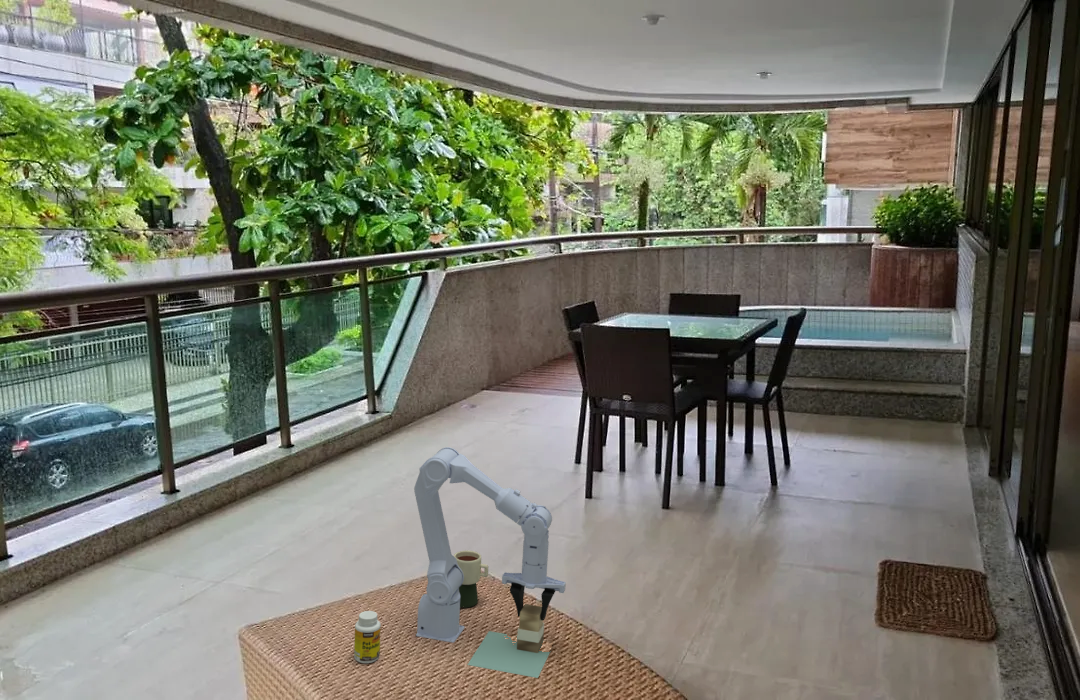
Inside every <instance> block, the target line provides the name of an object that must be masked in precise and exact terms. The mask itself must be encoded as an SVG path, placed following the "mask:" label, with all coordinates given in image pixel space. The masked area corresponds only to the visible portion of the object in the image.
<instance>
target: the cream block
mask: <svg viewBox="0 0 1080 700" xmlns="http://www.w3.org/2000/svg"><path fill="white" fill-rule="evenodd" d="M543 633H545V622H543V624H542V626H541V628H540V630H539V632H534V631H529V630H523V629H519V627H518V628H517V635H516V636H517V639H519V640H524V641H530V642H536V643H539V641H540V639H541V637H542V635H543Z"/></svg>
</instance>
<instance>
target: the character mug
mask: <svg viewBox="0 0 1080 700" xmlns="http://www.w3.org/2000/svg"><path fill="white" fill-rule="evenodd" d="M453 556H454V557H455V558H456V559H457V563H458V566H459V567H460V568H461V570H462V571H463V574H464V581H463V583H462V585H461V586H460V587H459V593H460V608H471V607H473V606H476V605H477V603H479V599H478V597H479V596H478V595H479V594H478V587H477V586H478V585H477V583H478V582H479V581H480V580H481V578H485V577H487V578H488V575H489V565H488V564H486V563H485V564H483V563H482V554H481V553H480V552H477V551H476V550H475V551H474V550H461V551H457V552H456V553H454V554H453ZM482 569H483V570H484V572H482Z"/></svg>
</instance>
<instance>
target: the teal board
mask: <svg viewBox="0 0 1080 700" xmlns="http://www.w3.org/2000/svg"><path fill="white" fill-rule="evenodd" d="M504 636H506V637H504ZM505 638H509V639H505ZM512 642H516V641H512V640H511V638H510V637H508V636H507V633H504V632H503V633H502V632H498V631H497V632H495V631H491V630H488V632H487V633H486V634H485V637H484V638H483V639H482V641H481V643H480V644H479V645H478V647H477V649H476V651H475V652H474V653H473V655H472V656H471V659H470V660H469V661H468V663H467V666H471V667H476V668H482V669H487V670H492V671H498V672H504V673H509V674H513V675H519V676H525V677H529V678H536V679H538V678H539V677H540V675H541V672H542V670H543V668H544V667H545V664H546V662H547V659H548V658H549V656H550V653H551V651H550V652H542V651H539V652H538V653H534V652H528V651H523V650H517V642H516V643H512ZM513 644H514V645H513Z"/></svg>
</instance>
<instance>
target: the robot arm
mask: <svg viewBox="0 0 1080 700" xmlns="http://www.w3.org/2000/svg"><path fill="white" fill-rule="evenodd" d="M448 479H449V484H458V483H465V484H467V485H469V486H471V487H472V488H473V489H475V490H477V491H478V492H480V493H481V494H483V495H484V496H486V497H488V498H489V499H491V500H492V501H493V502H494V504H495V508H496V510H498V511H499V512H500V513H501V514H503V515H504V516H506V517H507V518H509V519H510V520H511V521H512V522H514V523H516V524H517V525H518V526H520V527H521V530H522V533H523V537H524V538H523V543H522V544H523V545H522V546H523V547H522V562H521V563H522V564H521V572H506V571H504V572H503V574H502V576H501V584H504V585H506V584H510V588H509V593H510V594H511V596H512V599H513V602H514V604H515V607H516V613H517V614H516V615H517V617H520V612H521V610H522V608H523V606H524V597H525V589H530V590H534V589H536V588H537V589H543V591H542V592H541V596H540V597H541V607H542V610H541V620H543V621H545V619H546V617H547V612H548V609H549V606H550V602H551V601H552V598H553V597H554V596H555V593H556V592H558V593H559V594H564V593H565V592H566V585H567V584H566V581H562V580H558V579H555V578H552V577H549V576H547V575H548V573H547V572H548V561H549V560H548V559H549V556H548V555H549V546H550V545H549V543H550V542H549V532H550V531H549V528H550V527H551V524H552V521H553V517H552V513H551V512H550V510H549V509H548V508H547V507H546V506H544V505H541V504H537V503H536V502H531V501H530V500H529V499H527V498H526V497H525V496H523V495H522V494H521V491H520V490H519V489H517V488H516V489H513V488H512V487H507V488H504V487H502V486H501V485H499V484H498V483H497V482H495V481H494V480H493V479H492V478H491V477H489V476H488V475H487V474H486V473H484V471H482V470H481V469H479V468H478V467H477V466H475V465H474V464H473V463H472V462H471V461H470V460H469V459H468V458H467V456H466V455H465V454H463V453H459V452H458V451H457V450H456V449H455V448H453V447H446V446H445V447H442V448H441V449H440V450H438V451H437V452H436V453H435V454H434V455H432V456H431V457H430V458H428V459H426V461H424V463H423V464H422V465H421V466H420V467H419V472H418V476H417V478H416V481H415V485H414V488H413V489H414V495H415V496H414V497H415V501H416V504H417V505H416V506H417V509H418V513H419V514H418V515H419V519H420V523H421V524H420V525H421V528H422V533H423V537H424V543H425V547H426V551H427V557H428V561H429V563H428V566H427V567H428V568H427V572H426V577H427V585H426V593H423V594H422V595H421V598H420V599H419V602H418V606H417V622H416V623H417V627H416V628H417V630H416V632H417V633H416V634H415V637H419V638H424V639H425V638H426V639H430V640H435V641H441V642H446V643H452V644H454V643H455V642H456V641H457V639H458V638H459V636H460V635H461V634H462V633H463V631H464V630H465V626H464V625H460V614H461V613H460V611H461V607H460V593H459V587H460V586H461V585H462V583H463V581H464V574H463V571H462V570H461V568H460V567H459V566H458V563H457V559H456V558H455V557H454V554H453V555H452V551H451V546H450V540H449V537H448V532H447V531H448V530H447V526H446V523H445V522H446V521H445V517H444V512H443V508H442V503H441V498H440V493H439V490H440V489H441V487H442V486H443V485H444V483H446V481H448Z"/></svg>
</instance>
